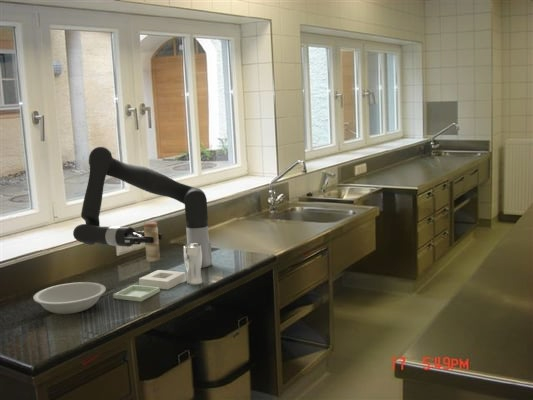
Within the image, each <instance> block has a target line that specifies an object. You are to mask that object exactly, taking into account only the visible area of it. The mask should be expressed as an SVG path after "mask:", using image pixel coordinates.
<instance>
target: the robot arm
mask: <svg viewBox="0 0 533 400" xmlns="http://www.w3.org/2000/svg"><path fill="white" fill-rule="evenodd" d="M88 156H89V157H88V165H89V173H88V181H87V186H86V189H85V193H84V198H83V202H82V203H83V204H82V207H81V211H80V212H81V213H80V217H81V218H82V219H83V220H84V222H85V223H81V224H78V225H77V226H75V228H74V229H73V233H72V235H73V237H74V239H75V240H76V241H77V242H79V243H83V244H85V245H89V246H92V245H95V244H100V245H105V246H106V245H107V246H108V245H109V246H114V247H129V248H130V247H132V246H133V245H141V244H145V243H154V237H145V234H144V231H141V230H138V231H137V230H135V229H134V228H133V227H132V226H116V225H115V226H101V225H100V223H101V222H100V214H101V213H100V212H101V209H102V202H103V193H104V187H105V186H104V185H105V180H106V176H108V177H112V178H114V179H117V180H120V181H122V182H125V183H127V184H128V185H131V186H134V187H136V188H138V189H140V190H143V191H145V192H148V193H150V194H153V195H157V196H162V197H167V198H170V199H172V200H173V199H174V200H175V201H178V202H180V203H181V204H183V205H184V213H185V216H184V217H185V230H186V243H187V244H193V243H197V244H200V245H201V251H202V265H201V269H203V268H207V267H209V266H212V265H213V260H212V259H213V257H212V256H213V255H212V243H211V242H210V240H209V223H208V221H209V220H208V219H209V216H208V199H207V196H206V194H205V192H204V191H203V190H202V189H200V188H198V187H195V186H190V185H187V184H185V183H182V182H178V181H176V180H174V179H173V178H171V177H169V176H167V175H165V174H163V173H160V172H158V171H156V170H154V169H151V168H148V167H145V166H142V165H137V164H130V163H126V162H123V161H120V160H119V159H116V158H114V157H113V154H112V152H111V151H110V149H108V148H107V147H105V146H97V147H95V148H93V149H92V150H91V151H90V153H89V155H88ZM158 239H159V241H161V240H163V234H162V233H158Z"/></svg>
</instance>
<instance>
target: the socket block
mask: <svg viewBox="0 0 533 400" xmlns="http://www.w3.org/2000/svg"><path fill="white" fill-rule="evenodd" d="M185 282H187V271H175V270H165V269H157V270H155V271H153V272H151V273H149V274H145V275H143V276H142V277H139V278H138V283H139V284H138V285H140V286H150V287H159V288H160V290H162V289H163V290H169V289H171V288H174V287H175V286H177V285H179V284H182V283H185Z"/></svg>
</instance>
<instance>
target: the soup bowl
mask: <svg viewBox="0 0 533 400" xmlns="http://www.w3.org/2000/svg"><path fill="white" fill-rule="evenodd" d="M106 290H107V287H106V286H105V285H103V284H101V283H99V282H91V281H90V282H89V281H85V282H83V281H80V282H77V281H76V282H68V283H61V284H57V285H53V286H49V287H46V288H45V289H42V290H39V291H37V292H36V293H35V294H34V295H33V296H32V297H33V301H34V302H36V303H38V304H40V306H41V307H43V308H44V309H45V310H46V311H48V312H50V313H53V314H59V315H67V314H68V315H69V314H76V313H80V312H83V311H86V310H88V309H90V308H91V307H93V306H94V305H95V304H96V303H97V302H98V301H99V300H100V298H101V296H102V295H103V294H104V293H105V292H106Z"/></svg>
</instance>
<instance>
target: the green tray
mask: <svg viewBox="0 0 533 400" xmlns="http://www.w3.org/2000/svg"><path fill="white" fill-rule="evenodd" d="M160 292H161V289H160V288H159V287H150V286H140V285H139V284H132V285H130V286H128V287H126V288H123V289H121V290H119V291H117V292H115V293H113V294H112V295H113V299H115V300H116V299H117V300H125V301H134V302H143V301H144V300H146V299H149V298H151V297H153V296H154V295H156V294H158V293H160Z"/></svg>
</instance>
